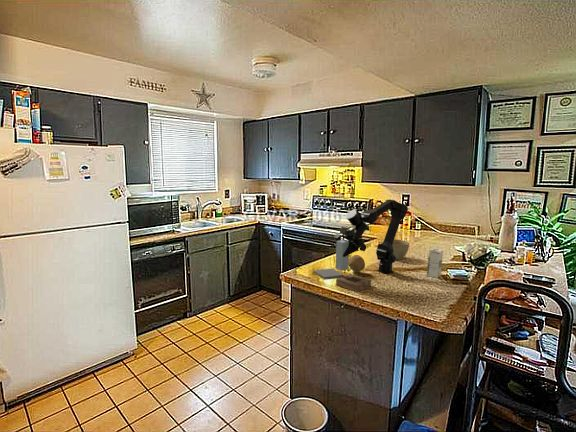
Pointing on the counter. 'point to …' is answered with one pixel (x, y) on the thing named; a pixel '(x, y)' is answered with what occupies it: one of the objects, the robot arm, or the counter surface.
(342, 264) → the slate peg
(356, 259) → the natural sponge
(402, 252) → the planter bowl
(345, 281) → the walnut pocket block
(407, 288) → the counter surface
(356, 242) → the robot arm
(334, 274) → the charcoal mat
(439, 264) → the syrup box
